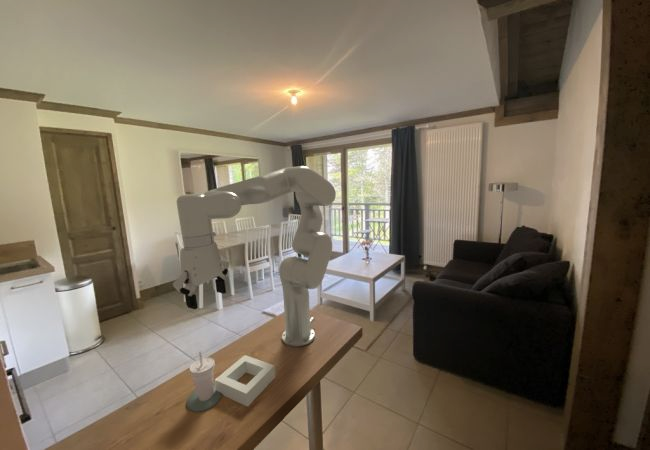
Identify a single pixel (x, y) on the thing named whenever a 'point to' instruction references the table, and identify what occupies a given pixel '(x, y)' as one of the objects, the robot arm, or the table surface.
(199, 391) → the lidded cup with straw
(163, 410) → the table surface
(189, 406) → the coaster
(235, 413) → the table surface
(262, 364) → the holder
